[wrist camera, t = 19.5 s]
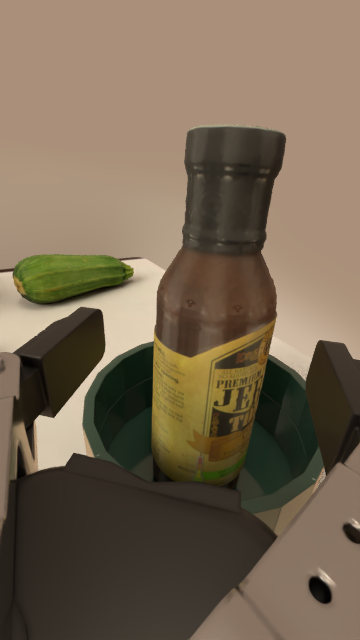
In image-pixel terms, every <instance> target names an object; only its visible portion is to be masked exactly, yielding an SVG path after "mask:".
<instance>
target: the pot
mask: <svg viewBox="0 0 360 640" xmlns="http://www.w3.org/2000/svg"><path fill="white" fill-rule="evenodd" d="M153 359H154V341H153V342H149V343H145V344H141V345H139V346H137V347H135V348H133V349H131V350H129V351H127V352H125V353H123V354H121V355H119V356H118V357H116V358H115V359H113V360H112V361H111V362H110V363H109V364H108V365H107V366H106V367H104V368H103V369H102V370H101V371H100V372H99V373H98V374H97V376H96V378H95V379H94V381H93V383H92V385H91V387H90V388H89V390H88V392H87V394H86V396H85V400H84V411H83V423H82V426H83V433H84V440H85V446H86V453H87V456H89V457H94V458H98V459H102V460H107V461H111V462H113V463H115V464H117V465H119V466H121V467H122V468H124V469H126V470H128V471H130V472H132V473H134V474H135V475H137V476H139V477H141V478H143V479H145V480H147V481H150V482H158V480H157V479H156V477H155V474H154V470H153V454H152V449H151V437H152V403H153ZM324 469H325V468H324V464H323V460H322V456H321V452H320V448H319V444H318V440H317V436H316V432H315V428H314V424H313V420H312V416H311V412H310V408H309V404H308V400H307V396H306V381H305V380H304V379H303V378H302V377H301V376H300V375H299V374H298V373H297V372H296V371H295V370H293V369H292V368H290V367H289V366H287V365H286V364H284V363H283V362H281V361H280V360H278V359H277V358H275V357H274V356H272V355H269V354H268V359H267V363H266V368H265V374H264V379H263V383H262V387H261V391H260V395H259V401H258V406H257V409H256V413H255V418H254V422H253V427H252V432H251V436H250V440H249V445H248V449H247V454H246V458H245V462H244V465H243V468H242V470H241V471H240V474H239V479H238V482H237V484H236V486H235V488H234V489H233V490H236V491H241V508H243V509H245V510H247V511H249V512H250V513H252V514H253V515H255V516H256V517H258V518H259V519H260V520H262V521H263V522H264V523H265V524H266V525H268V526H269V527H270V528H271V529H272V530H273V531H274V532H275V533H276V534H277V535H278V536H279V535H280V534H281V533H282V532H283V530H284V529H285V528H286V526H287V525H288V524H289V523H290V521H291V520H292V519H293V518H294V516H295V515H296V514H297V513H298V511H299V510H300V509H301V508H302V506H303V505H304V504H305V503H306V501H307V500H308V499H309V498H310V496H311V495H312V494H313V493H314V491H315V490H316V489H317V486H318V484H319V481H320V479H321V476H322V474H323V471H324Z"/></svg>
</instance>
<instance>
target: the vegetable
mask: <svg viewBox="0 0 360 640" xmlns="http://www.w3.org/2000/svg"><path fill="white" fill-rule="evenodd" d="M133 273H134V272H133V268H131V267H130V266H129V265H126V264H125V263H123V262H121V261H120V260H119V259H116V258H114V257H111V256H105V255H59V254H55V255H36V256H31V257H28V258H25V259H23V260H22V261H20V262H19V263H18V264H17V265H16V266H15V269H14V272H13V279H14V284H15V286H16V287H17V291H18V292H19V293H20V294H21V296H22V297H23V298H25V299H27V300H29V301H31V302H33V303H39V304H42V303H51V302H56V301H60V300H63V299H66V298H70V297H73V296H76V295H79V294H82V293H85V292H88V291H92V290H95V289H98V288H102V287H111V286H117V285H118V284H121V283H123V281H124V280H126V279H128V278H130V277H132V276H133Z"/></svg>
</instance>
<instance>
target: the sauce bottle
mask: <svg viewBox="0 0 360 640" xmlns="http://www.w3.org/2000/svg"><path fill="white" fill-rule="evenodd" d="M285 143H286V137H285V134H284V133H282V132H280V131H278V130H273V129H269V128H264V127H258V126H246V125H224V124H223V125H204V126H196V127H195V128H191V129H190V130H189V131H188V133H187V139H186V149H185V167H186V171H187V175H188V184H187V185H188V186H187V197H186V212H185V224H184V226H183V230H182V233H183V246H182V248H181V250H180V251H179V252H178V254H177V255H176V257H175V258H174V260H173V261H172V263H171V265H170V266H169V267H168V269H167V271H166V272H165V274H164V275H163V277H162V279H161V281H160V284H159V287H158V291H157V319H156V325H155V329H154V359H153V403H152V437H151V449H152V454H153V470H154V474H155V477H156V479H157V480H158V482H187V481H198V482H202V483H206V484H211V485H215V486H219V487H223V488H228V489H232V490H233V489H234V488H235V486H236V484H237V482H238V479H239V474H240V471H241V470H242V468H243V465H244V462H245V458H246V454H247V449H248V445H249V440H250V436H251V432H252V427H253V422H254V418H255V413H256V409H257V406H258V401H259V395H260V391H261V387H262V383H263V379H264V374H265V368H266V363H267V359H268V354H269V349H270V344H271V340H272V335H273V331H274V326H275V322H276V317H277V312H276V304H277V302H276V297H277V295H276V289H275V285H274V282H273V279H272V278H271V276H270V273H269V270H268V268H267V265H266V263H265V261H264V258H263V256H262V254H261V250H262V248H263V247H264V242H265V240H266V232H265V229H266V224H267V217H268V210H269V206H270V201H271V194H272V189H273V185H274V180H275V178H276V177H277V175H278V174H279V171H280V170H281V167H282V161H283V156H284V151H285Z"/></svg>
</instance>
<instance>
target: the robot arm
mask: <svg viewBox="0 0 360 640" xmlns="http://www.w3.org/2000/svg"><path fill="white" fill-rule="evenodd" d="M104 352H105V334H104V322H103V314H102V311H101V310H100V309H94V308H86V307H80V308H78V309H77V310H76V311H75V312H73V313H72V314H71V315H69V316H68V317H66V318H63V319H61V320H58V321H56V322H54V323H52V324H51V325H50V326H48V327H47V328H46V329H45V330H43V331H42V332H40V333H39V334H38V336H35V337H34V338H32V339H31V340H30V341H28V342H27V343H26V344H24V345H23V346H22V347H20V348H19V349H17V350H16V351H15V352H13V353H7V352H2V353H0V640H360V360H355V359H353V358H352V357H351V355H350V353H349V352H348V349H347V347H346V346H345V344H343V343H338V342H330V341H323V340H319V341H318V343H317V345H316V348H315V351H314V355H313V358H312V361H311V365H310V368H309V372H308V375H307V379H306V396H307V400H308V404H309V408H310V412H311V416H312V420H313V424H314V428H315V432H316V436H317V440H318V444H319V448H320V452H321V456H322V460H323V464H324V468H325V472H326V478H325V479H324V480H323V481H322V483H321V484H320V485H319V486H318V488H317V489H316V490H315V491H314V493H313V494H312V495H311V496H310V498H309V499H308V500H307V501H306V503H305V504H304V505H303V506H302V508H301V509H300V510H299V511H298V513H297V514H296V515H295V516H294V518H293V519H292V520H291V521H290V523H289V524H288V525H287V526H286V528H285V529H284V530H283V532H282V533H281V534H280V535H279V536H278V535H277V534H276V533H275V532H274V531H273V530H272V529H271V528H270V527H269V526H268V525H266V524H265V523H264V522H263V521H262V520H260V519H259V518H258V517H256V516H255V515H253V514H252V513H250V512H249V511H247V510H245V509H243V508H241V491H236V490H232V489H228V488H223V487H219V486H215V485H211V484H206V483H202V482H198V481H187V482H150V481H147V480H145V479H143V478H141V477H139V476H137V475H135V474H134V473H132V472H130V471H128V470H126V469H124V468H122V467H121V466H119V465H117V464H115V463H113V462H111V461H107V460H102V459H98V458H94V457H89V456H85V455H81V454H76V453H73V455H72V456H71V458H70V459H69V461H68V462H67V464H66V466H60V467H53V468H48V469H44V470H40V471H38V459H37V434H36V424H35V419H36V418H37V417H38V416H39V415H42V416H47V417H52V418H54V417H55V416H56V414H57V413H58V412H59V411H60V410H61V408H62V407H63V406H64V405H65V403H66V402H67V401H68V400H69V398H70V397H71V396H72V395H73V394H74V392H75V391H76V390H77V389H78V387H79V386H80V385H81V384H82V383H83V381H84V380H85V379H86V378H87V376H88V375H89V374H90V373H91V371H92V370H93V369H94V368H95V367H96V365H97V364H98V363H99V362H100V360H101V359H102V357H103V355H104Z"/></svg>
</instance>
